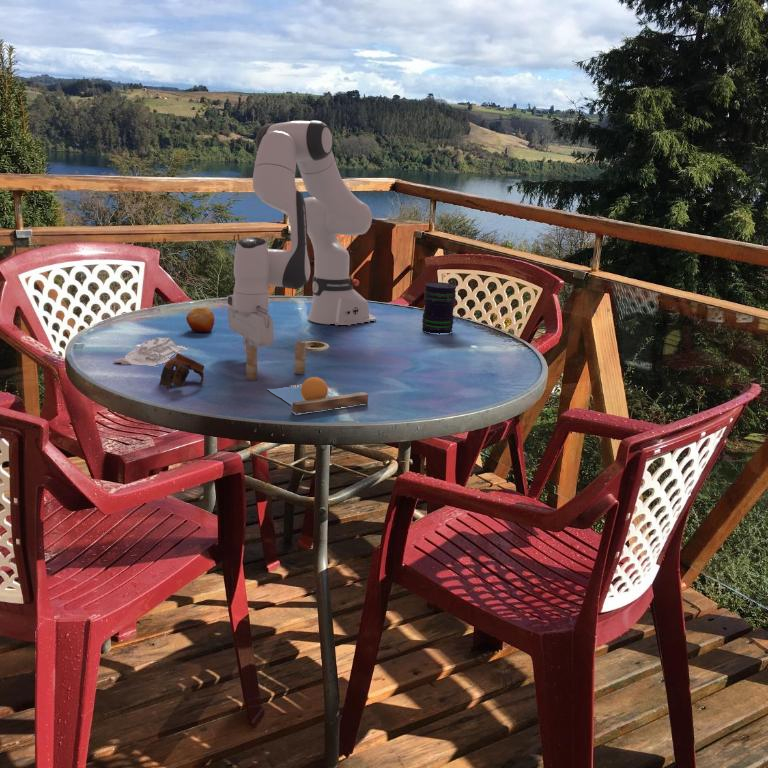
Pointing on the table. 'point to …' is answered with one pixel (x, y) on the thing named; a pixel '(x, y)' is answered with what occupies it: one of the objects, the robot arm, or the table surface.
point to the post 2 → (300, 357)
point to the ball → (314, 388)
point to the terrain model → (151, 352)
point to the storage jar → (438, 307)
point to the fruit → (200, 319)
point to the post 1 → (251, 362)
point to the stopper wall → (330, 402)
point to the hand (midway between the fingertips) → (250, 354)
